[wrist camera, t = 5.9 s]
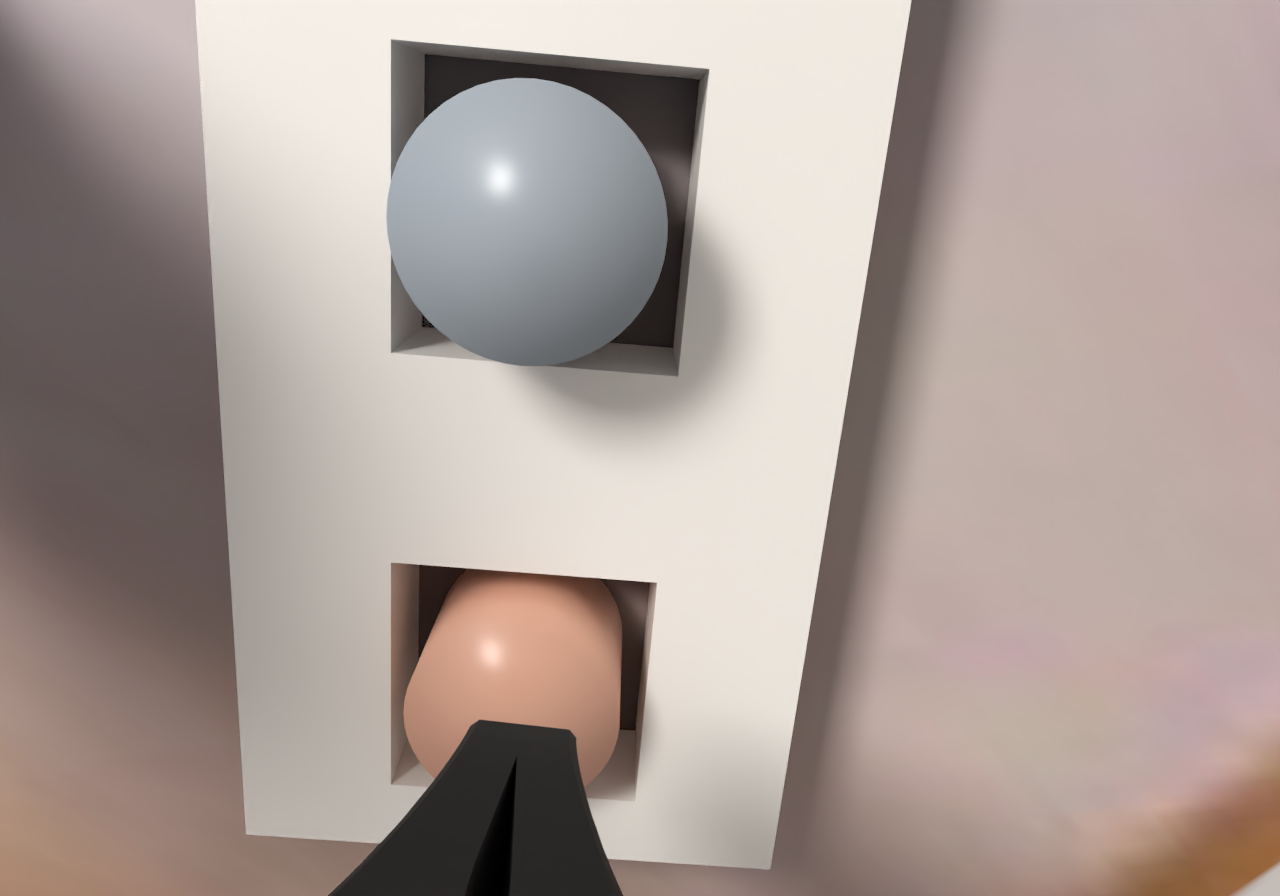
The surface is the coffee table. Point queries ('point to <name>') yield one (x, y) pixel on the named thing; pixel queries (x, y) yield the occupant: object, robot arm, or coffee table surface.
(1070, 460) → the coffee table surface
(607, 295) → the slate button
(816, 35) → the panel
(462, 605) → the terracotta button
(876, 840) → the coffee table surface
